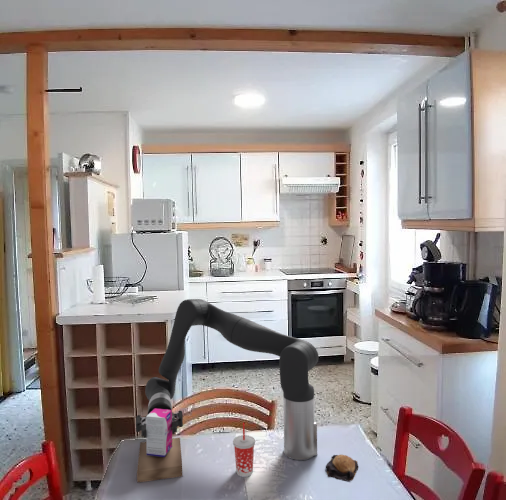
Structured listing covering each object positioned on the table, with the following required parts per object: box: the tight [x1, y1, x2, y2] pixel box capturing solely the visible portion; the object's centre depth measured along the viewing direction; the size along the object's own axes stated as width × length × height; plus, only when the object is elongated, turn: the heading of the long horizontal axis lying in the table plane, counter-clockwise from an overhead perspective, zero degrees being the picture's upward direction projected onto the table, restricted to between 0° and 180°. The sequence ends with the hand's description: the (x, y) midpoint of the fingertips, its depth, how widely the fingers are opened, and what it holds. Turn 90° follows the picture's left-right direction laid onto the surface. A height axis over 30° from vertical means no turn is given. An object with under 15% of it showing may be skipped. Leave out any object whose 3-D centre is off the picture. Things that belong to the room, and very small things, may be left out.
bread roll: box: [325, 454, 359, 482], centre depth 116 cm, size 11×8×4 cm
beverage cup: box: [232, 422, 256, 478], centre depth 115 cm, size 6×6×14 cm
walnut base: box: [136, 437, 183, 483], centre depth 121 cm, size 12×16×3 cm
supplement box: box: [145, 408, 173, 457], centre depth 120 cm, size 6×6×12 cm
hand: (159, 432), depth 118 cm, fingers closed on supplement box, 7 cm apart
